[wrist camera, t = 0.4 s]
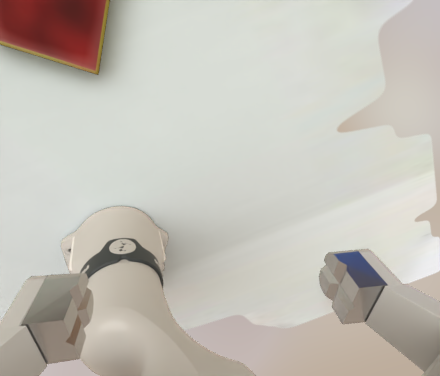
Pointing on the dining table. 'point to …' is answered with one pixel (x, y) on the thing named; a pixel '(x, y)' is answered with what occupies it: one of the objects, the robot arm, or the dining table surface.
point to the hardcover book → (56, 30)
